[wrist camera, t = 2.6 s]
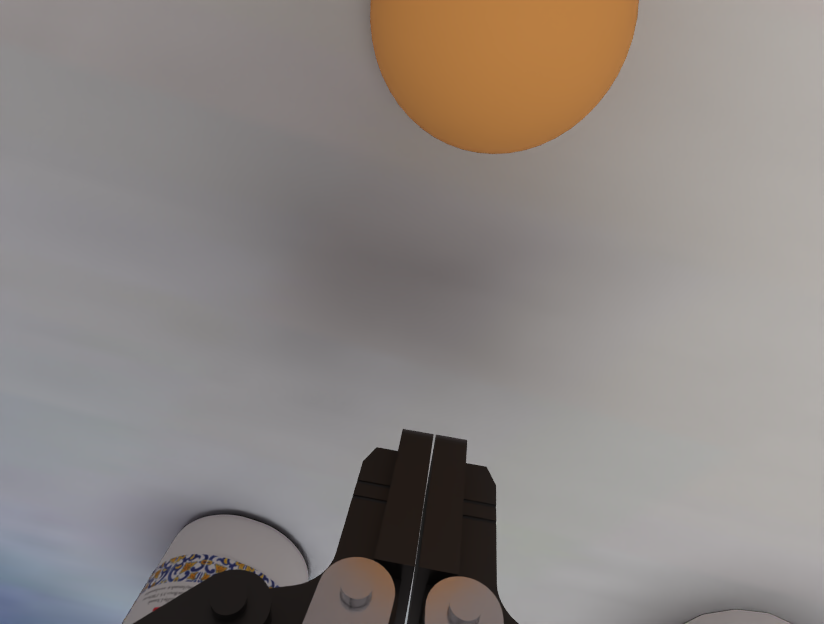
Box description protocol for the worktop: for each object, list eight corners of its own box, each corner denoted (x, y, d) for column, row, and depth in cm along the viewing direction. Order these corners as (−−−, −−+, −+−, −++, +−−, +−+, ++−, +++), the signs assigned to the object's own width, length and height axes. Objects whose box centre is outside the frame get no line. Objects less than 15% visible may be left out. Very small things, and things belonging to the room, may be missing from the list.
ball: (404, -129, 14) (353, -210, 9) (640, -100, 14) (728, -168, 9) (382, 115, 17) (334, 159, 12) (578, 143, 17) (617, 201, 12)
